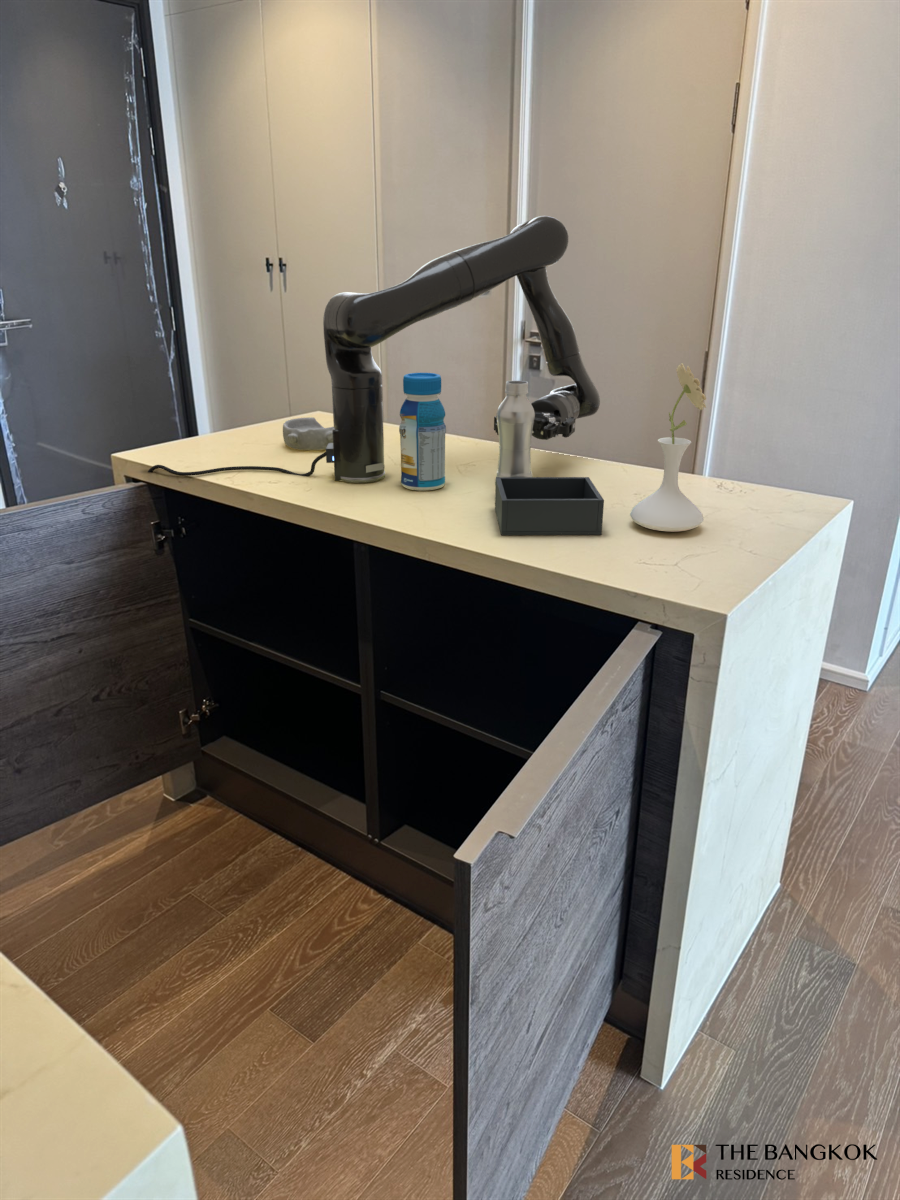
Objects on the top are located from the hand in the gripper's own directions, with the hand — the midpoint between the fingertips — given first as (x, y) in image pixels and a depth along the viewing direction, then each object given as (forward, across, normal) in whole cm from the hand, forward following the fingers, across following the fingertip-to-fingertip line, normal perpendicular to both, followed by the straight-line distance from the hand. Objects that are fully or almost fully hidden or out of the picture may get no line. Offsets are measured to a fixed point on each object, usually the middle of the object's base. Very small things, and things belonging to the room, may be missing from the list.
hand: (521, 431), depth 151 cm
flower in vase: (+8, +28, +11) cm, 31 cm away
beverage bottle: (+3, -18, +11) cm, 21 cm away
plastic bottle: (+3, 0, +11) cm, 12 cm away
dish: (-17, -54, +11) cm, 57 cm away
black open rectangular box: (+14, +10, +11) cm, 20 cm away
